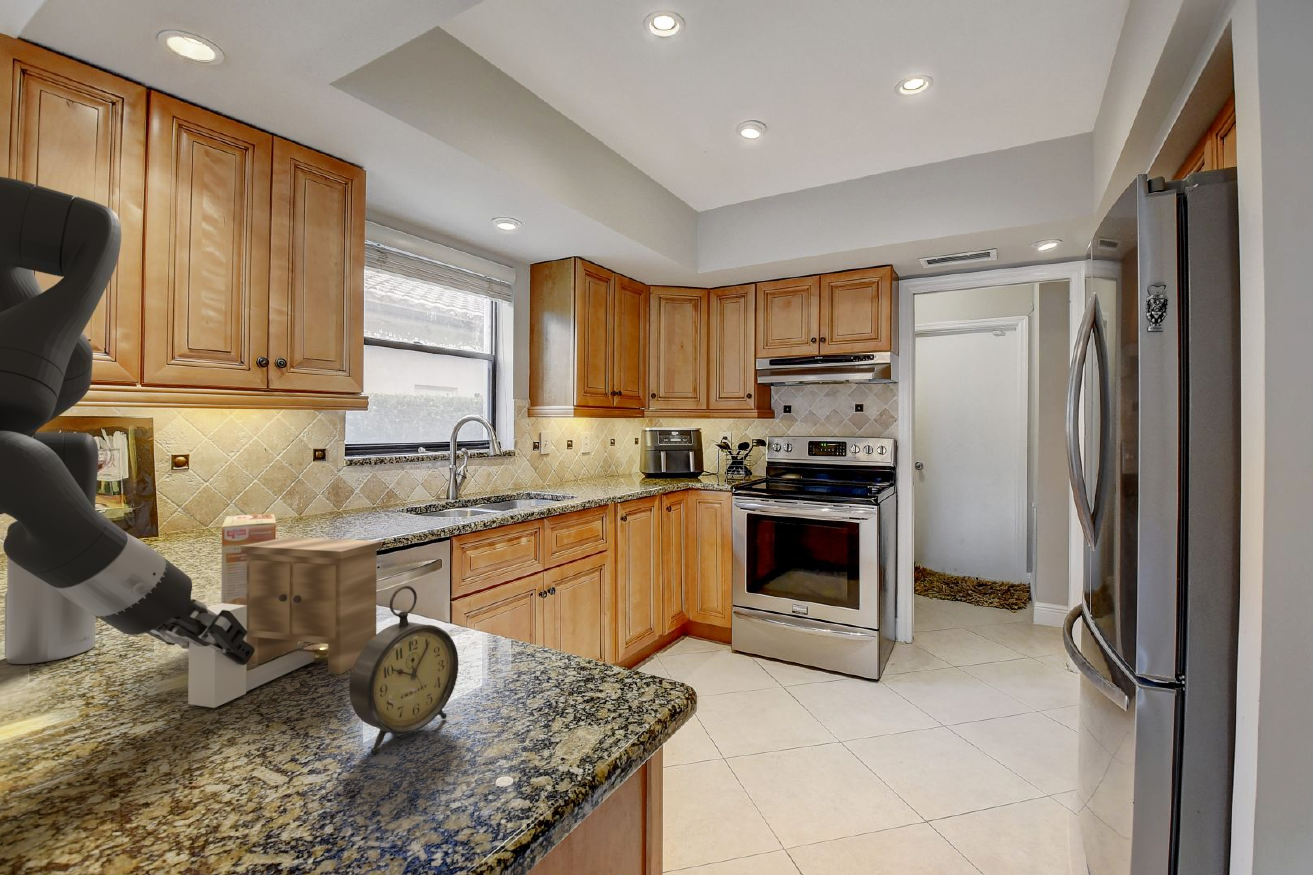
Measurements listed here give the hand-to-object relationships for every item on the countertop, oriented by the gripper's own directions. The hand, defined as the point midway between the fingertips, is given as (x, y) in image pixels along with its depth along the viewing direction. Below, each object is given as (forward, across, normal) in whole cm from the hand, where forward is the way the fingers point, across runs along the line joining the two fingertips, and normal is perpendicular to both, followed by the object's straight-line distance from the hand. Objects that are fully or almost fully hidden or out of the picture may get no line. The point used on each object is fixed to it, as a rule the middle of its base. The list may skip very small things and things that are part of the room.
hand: (233, 655), depth 73 cm
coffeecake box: (+16, +17, -8) cm, 24 cm away
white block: (+6, 0, +1) cm, 6 cm away
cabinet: (+12, 0, -5) cm, 13 cm away
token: (+13, 0, -6) cm, 14 cm away
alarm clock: (+2, -27, +6) cm, 28 cm away
